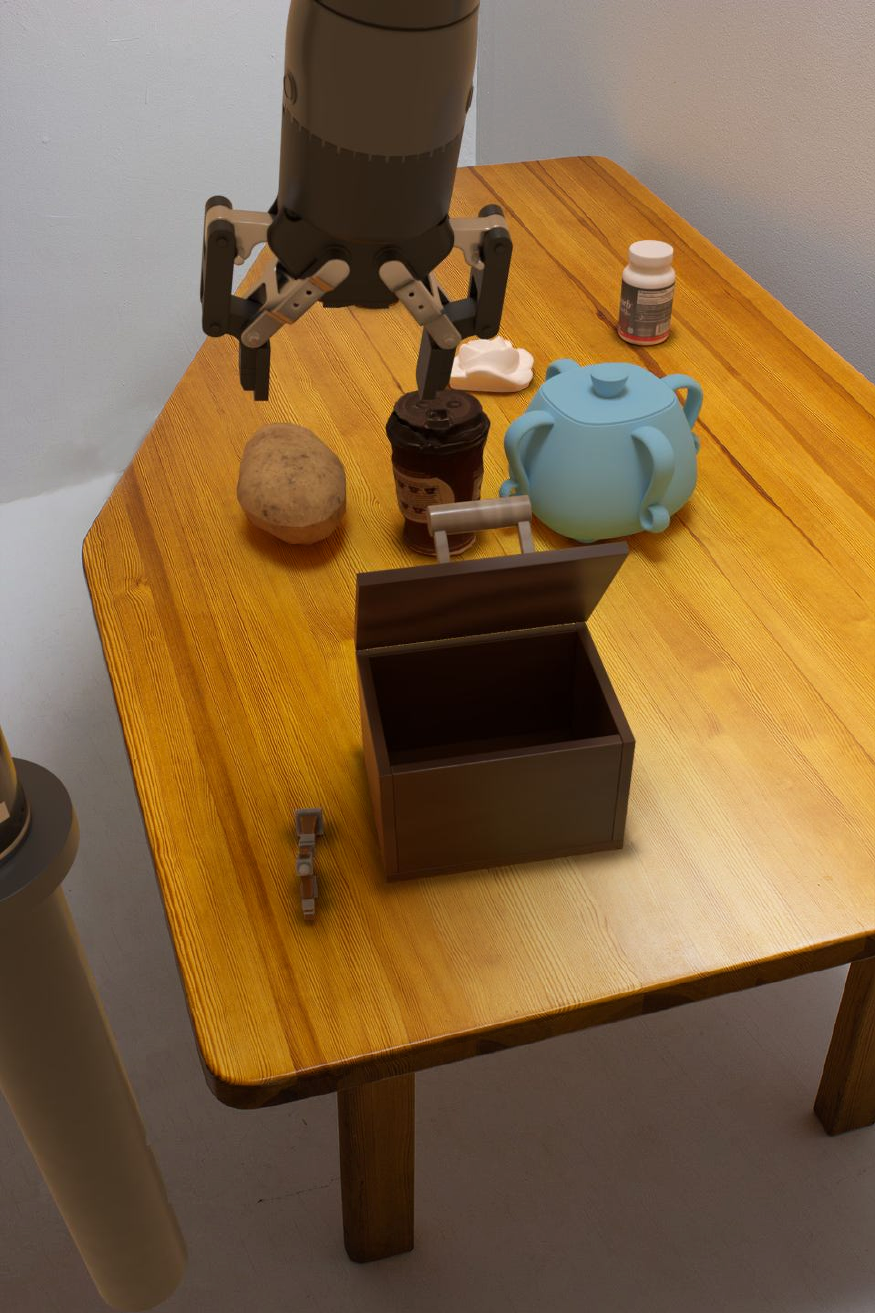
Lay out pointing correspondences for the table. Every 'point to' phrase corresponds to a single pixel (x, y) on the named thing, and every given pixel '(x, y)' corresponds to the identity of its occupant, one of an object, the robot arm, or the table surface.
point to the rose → (491, 367)
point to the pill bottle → (647, 293)
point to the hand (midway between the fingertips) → (342, 389)
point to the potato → (291, 484)
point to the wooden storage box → (493, 750)
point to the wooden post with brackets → (308, 856)
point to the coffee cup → (436, 460)
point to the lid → (482, 583)
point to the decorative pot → (605, 450)
